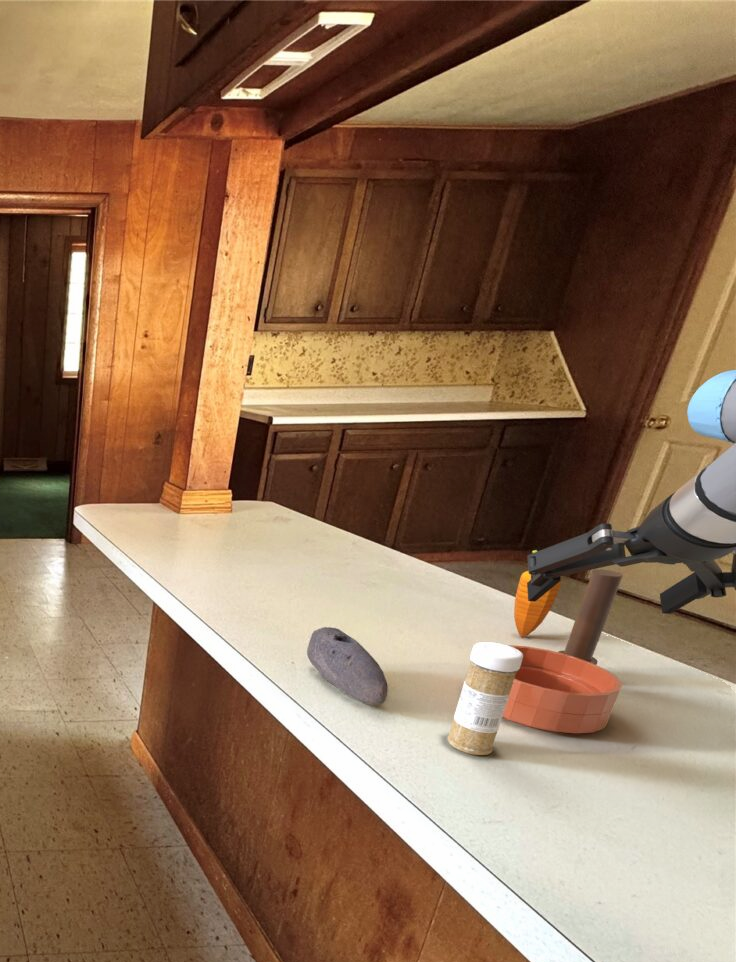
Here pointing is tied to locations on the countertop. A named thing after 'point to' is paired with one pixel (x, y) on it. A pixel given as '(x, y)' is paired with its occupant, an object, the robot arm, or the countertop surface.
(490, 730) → the sprinkles bottle
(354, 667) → the perforated stone tool
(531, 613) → the carrot
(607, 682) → the bowl
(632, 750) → the countertop surface
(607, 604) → the brown pestle
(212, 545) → the countertop surface
